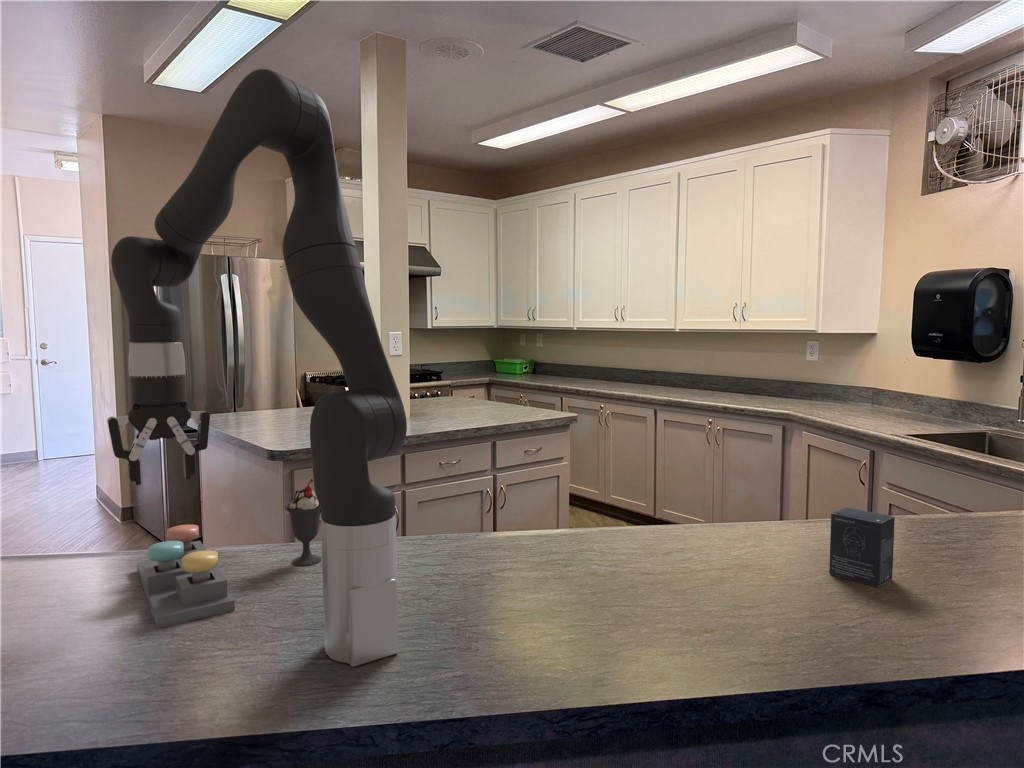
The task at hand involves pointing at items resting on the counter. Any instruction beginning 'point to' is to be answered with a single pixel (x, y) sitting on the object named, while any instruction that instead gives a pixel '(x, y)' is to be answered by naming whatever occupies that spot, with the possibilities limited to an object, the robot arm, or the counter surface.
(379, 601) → the robot arm
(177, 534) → the salmon orange dome button
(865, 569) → the box
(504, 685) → the counter surface
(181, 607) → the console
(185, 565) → the button ochre
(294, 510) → the sundae
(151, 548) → the button teal
